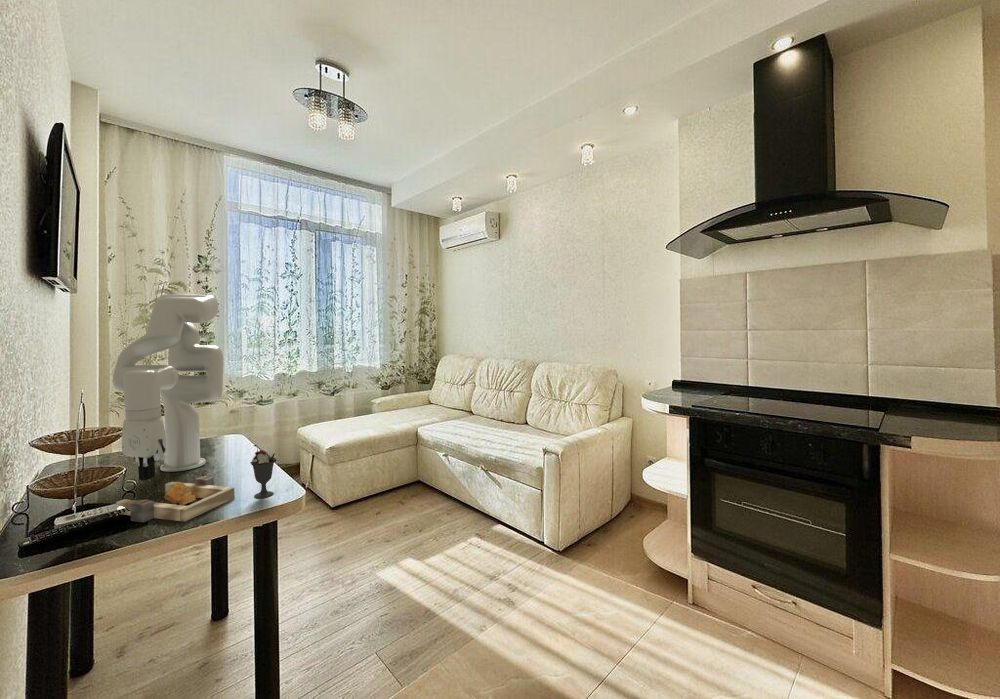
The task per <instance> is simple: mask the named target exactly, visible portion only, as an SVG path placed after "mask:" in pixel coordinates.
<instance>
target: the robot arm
mask: <svg viewBox="0 0 1000 699" xmlns="http://www.w3.org/2000/svg"><path fill="white" fill-rule="evenodd" d="M218 312H219V303H218V300H217V298H216V297H215V296H214V295H211V294H195V293H194V294H192V293H167V294H166V293H165V294H161V295H160V296H158V298H157V299H156V301H155V302H154V303H153V307H152V310H151V314H150V317H149V321H148V325H147V327H146V328H147V329H146V331H145V333H144V335H142V336H140V337H138V338H137V339H135V340H134V341H132V342H131V343H130V344H129V345H127V346H126V347H125V348H124V349H123V350H122V351H121V352H120V354H119V356H118V357H117V360H116V364H115V367H114V370H113V374H112V382H113V386H114V388H115V389H116V390H118V391H120V392H123V402H124V403H123V404H124V415H125V419H124V420H123V422H122V428H121V429H122V430H121V452H122V455H125V456H128V457H129V458H132V459H134V460H135V465H136V466H137V467H138V470H137V471H138V480H139V481H143V482H145V481H148V480H150V479H153V478H155V477H156V465H155V464H157V461H160V460H161V461H163V463H162V464H161V465H160V467H159V468H160V471H161V472H166V473H170V472H171V473H172V472H173V473H175V472H183V471H188V470H193V469H196V468H199V467H202V466H203V465H206V460H207V459H205V458H204V457H201V442H200V441H201V438H200V435H201V434H200V414H199V412H198V411H197V409H196V408H195V407H194V406H193V405H192V404H197V403H211V402H212V403H213V402H217V401H219V400H220V399H221V398H222V395H223V387H224V386H223V385H224V383H223V382H224V354H223V350H222V349H221V348H220V347H219V346H217V345H215V344H214V345H213V344H200V331H199V330H198V328H197V327H196V326H195V325H194V324H204V323H207V322H210V321H211V320H213V319H215V317H216V316H217V315H218ZM166 350H168V352H167V364H140V365H136V364H137V363H139V362H140V361H141V360H142V359H144V358H146V357H148V356H151V355H153V354H156V353H159V352H162V351H166ZM202 372H203V373H206V374H202V375H198V374H197V375H192V374H191V375H179V373H202ZM161 401H162V402H161ZM161 403H162V404H163V413H164V420H163V418H162V404H161Z"/></svg>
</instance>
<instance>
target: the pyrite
mask: <svg viewBox="0 0 1000 699" xmlns="http://www.w3.org/2000/svg"><path fill="white" fill-rule="evenodd" d="M176 482H177V483H176V484H175V485H174V486H173V487H172V488H171V489H170V490H169V491H168V492H167V493H166V494H165V495H164V496H163V498H164V500H167V501H169V502H170V503H171V504H173V505H177V503H179V505H183V506H185V505H187V504H190V503H192V502H194V501H196V500H197V499H196V497H195V495H194V493H193V491H190V492H187V491H188V490H189V489H190V488H189V487H187V486H186V485H184V484H182V483H183V482H181V481H176Z"/></svg>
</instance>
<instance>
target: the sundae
mask: <svg viewBox="0 0 1000 699" xmlns="http://www.w3.org/2000/svg"><path fill="white" fill-rule="evenodd" d="M253 447H256V449H257V450H256V452H254V454H255V455H254V456H253V457H252V460H251V461H250V463H249V464H250V465H251V466H252V468H253V473H254V478H255V481H256V482H257V483H259V484H260V486H261V489H260V491H259V492H258V493H255V494H254V495H253V497H254V498H255V499H266V498H269V497H272V496H273V495H274V492H273V491H269V490H268V489H267V483H268V482H269V481H270V480H271V479H272V478H273V477H272V476H273V471H274V463H276V462H277V458H276V457H274V456H275V453H273V454H272V455H271V453H270V452H268V451H266V450H263V449H261V448H260V447H259V446H258V445H257V444H254V445H253Z"/></svg>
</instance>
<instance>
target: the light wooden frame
mask: <svg viewBox="0 0 1000 699" xmlns="http://www.w3.org/2000/svg"><path fill="white" fill-rule="evenodd" d="M214 478H215V477H214V476H209V475H205V476H204V475H202V476H198V477H196V478H194V483H191V482H190V483H189V482H181V483H182V484H184V485H186V486H187V487H189V488H190V489H189V490H188V491H187V492H190V491H193V493H194V495H195V498H197V499H199V498H200V500H198V501H196V502H193V503H191V504H189V505H180V504H174V503H171V504H170V503H163V502H157V501H154V500H149V499H147V498H146V499H139V500H137V499H136V500H135V499H126V498H124V499H121V500H118V501H115V506H116V505H118V506H123V507H125V508H127V509H128V510H130V511H125V512H121V513H119V514H118V515H125V516H130V521H131V522H136V523H146V522H148V521H151V520H153V519H160V520H167V521H176V522H177V521H178V522H187V521H190V520H192V519H193V518H195V517H198V516H200V515H202V514H204V513H206V512H209V511H211V510H212V509H214V508H217V507H219V506H221V505H223V504H225V503H228V502H230V501H232V500H233V499H235V487H232V486H222V485H221V486H220V485H215V481H214V480H215V479H214ZM177 482H178V481H171V482H170V481H169V482H168V483H165V484H164V488H165V489H164V490H165V495H166V493H167V492H168V491H169V490H170V489H171V488H172V487H173V486H174V485H175V484H176V483H177Z"/></svg>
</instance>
